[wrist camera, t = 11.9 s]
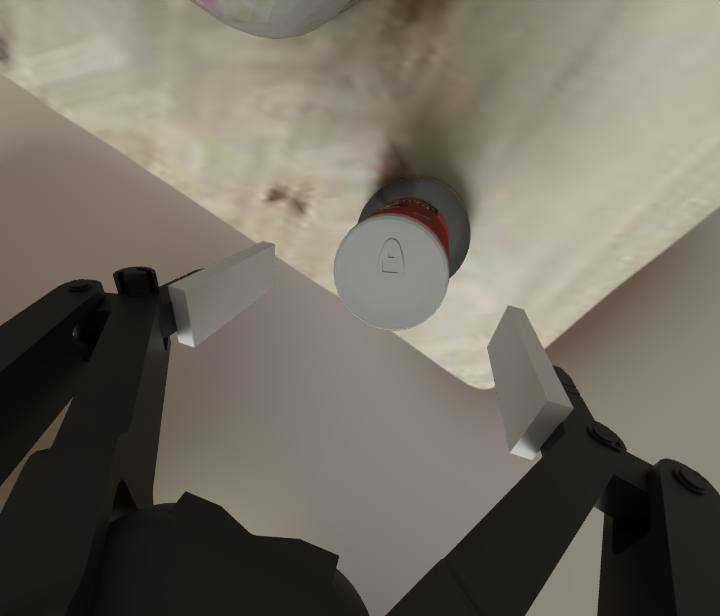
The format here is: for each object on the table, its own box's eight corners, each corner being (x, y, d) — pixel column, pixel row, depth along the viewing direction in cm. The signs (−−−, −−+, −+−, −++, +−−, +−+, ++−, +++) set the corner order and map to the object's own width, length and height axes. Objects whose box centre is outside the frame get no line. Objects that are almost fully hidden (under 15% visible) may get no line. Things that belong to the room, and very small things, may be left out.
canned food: (442, 185, 25) (439, 200, 16) (454, 271, 28) (457, 326, 19) (361, 206, 28) (316, 229, 18) (379, 282, 31) (349, 336, 21)
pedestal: (378, 166, 30) (366, 167, 26) (483, 188, 28) (489, 192, 24) (360, 262, 36) (348, 276, 31) (448, 285, 34) (448, 303, 30)
